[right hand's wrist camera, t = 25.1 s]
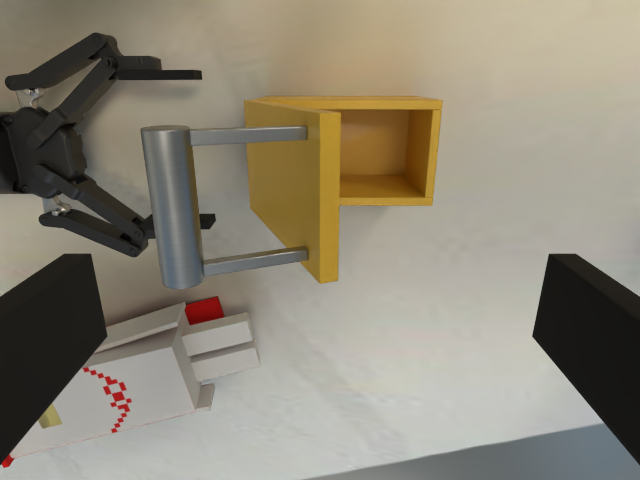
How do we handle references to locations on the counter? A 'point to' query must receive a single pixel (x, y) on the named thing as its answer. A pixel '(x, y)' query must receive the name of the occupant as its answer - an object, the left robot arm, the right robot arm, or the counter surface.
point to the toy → (146, 374)
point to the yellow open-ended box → (382, 146)
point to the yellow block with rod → (251, 191)
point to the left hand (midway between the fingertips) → (206, 152)
